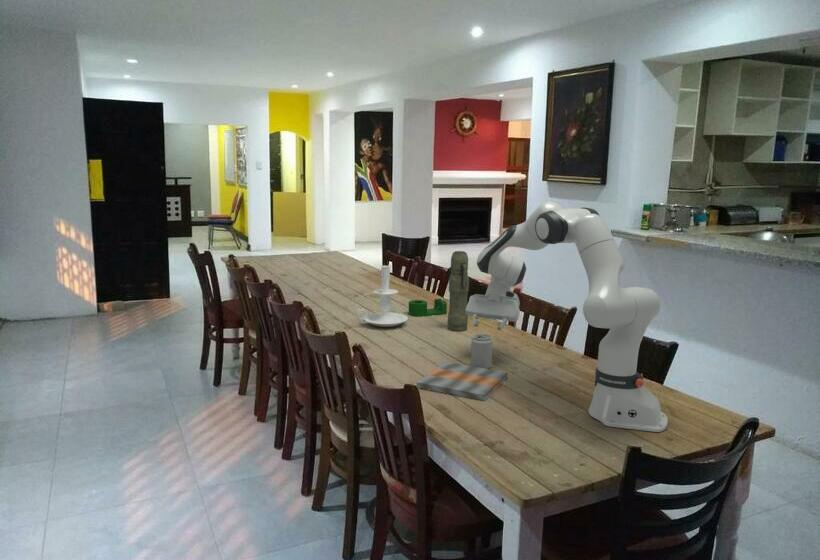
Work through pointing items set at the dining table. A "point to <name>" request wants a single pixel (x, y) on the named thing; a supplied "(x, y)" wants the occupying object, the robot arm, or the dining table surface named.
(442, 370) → the grey orange flat square
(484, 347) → the can
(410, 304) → the slotted cylinder bracket
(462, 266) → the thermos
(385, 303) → the candlestick
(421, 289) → the dining table surface
